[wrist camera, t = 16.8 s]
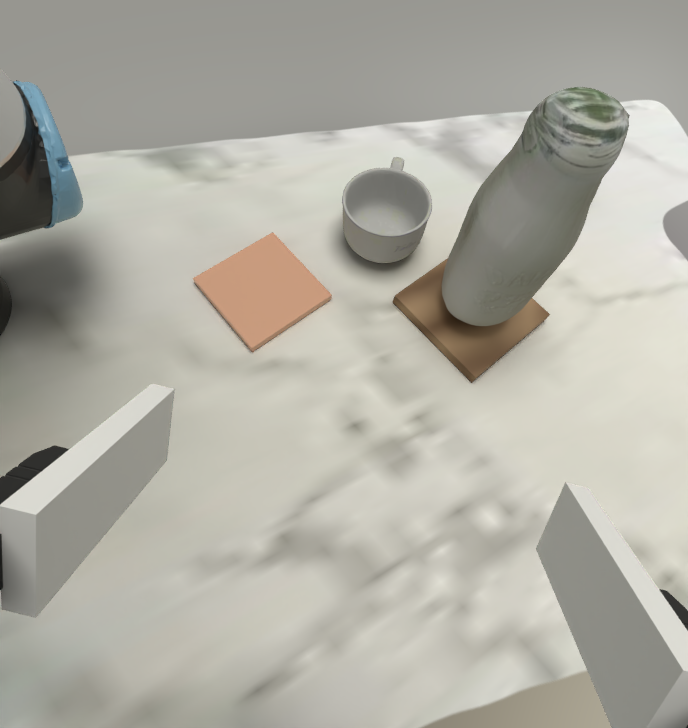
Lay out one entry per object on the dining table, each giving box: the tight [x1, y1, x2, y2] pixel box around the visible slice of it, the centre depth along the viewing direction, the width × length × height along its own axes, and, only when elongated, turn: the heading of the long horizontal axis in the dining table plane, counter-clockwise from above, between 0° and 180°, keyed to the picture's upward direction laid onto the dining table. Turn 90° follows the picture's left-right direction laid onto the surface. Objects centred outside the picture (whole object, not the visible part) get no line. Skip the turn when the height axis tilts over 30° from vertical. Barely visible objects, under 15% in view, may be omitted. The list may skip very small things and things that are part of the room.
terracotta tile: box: [193, 232, 332, 352], centre depth 60 cm, size 12×12×1 cm
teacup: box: [342, 157, 432, 263], centre depth 62 cm, size 14×11×8 cm
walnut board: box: [393, 259, 550, 382], centre depth 61 cm, size 14×14×2 cm
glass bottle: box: [442, 87, 629, 326], centre depth 48 cm, size 10×10×28 cm
